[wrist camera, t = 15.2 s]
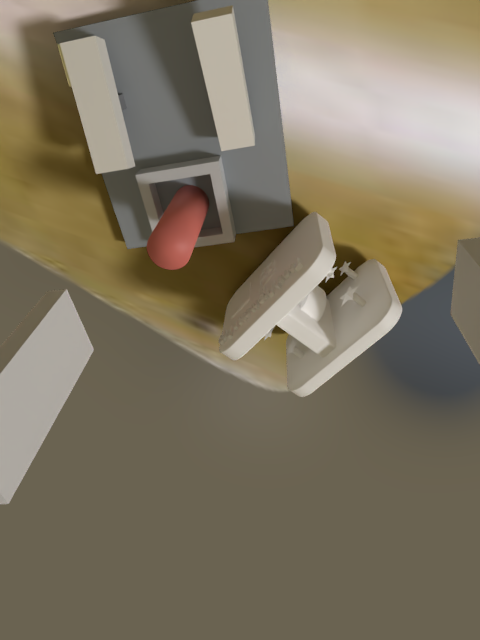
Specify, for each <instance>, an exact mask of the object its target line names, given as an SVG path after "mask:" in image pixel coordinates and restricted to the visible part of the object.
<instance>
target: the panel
mask: <svg viewBox="0 0 480 640" xmlns="http://www.w3.org/2000/svg"><path fill="white" fill-rule="evenodd" d="M231 5H233V9H234V15H235V21H236V27H237V33H238V39H239V45H240V50H241V56H242V62H243V68H244V74H245V80H246V86H247V91H248V97H249V103H250V109H251V115H252V121H253V127H254V133H255V146H250V147H244V148H238V149H232V150H226V151H221V148H220V143H219V139H218V135H217V131H216V126H215V122H214V118H213V114H212V109H211V105H210V101H209V97H208V92H207V88H206V84H205V80H204V75H203V71H202V67H201V63H200V58H199V54H198V50H197V46H196V41H195V37H194V33H193V29H192V24H191V21H192V17H193V14H195V13H200V12H204V11H209V10H213V9H218V8H222V7H227V6H231ZM53 34H54V37H55V40H56V43H57V45H58V44H60V43H64V42H68V41H73V40H77V39H82V38H86V37H91V36H97V37H100V38H102V39H104V40H105V43H106V48H107V52H108V56H109V60H110V64H111V68H112V72H113V76H114V80H115V85H116V89H117V93H118V97H119V101H120V105H121V109H122V113H123V117H124V121H125V126H126V130H127V134H128V138H129V142H130V146H131V150H132V154H133V158H134V163H135V167H132V168H129V169H124V170H118V171H112V172H106V173H102V176H103V179H104V182H105V185H106V188H107V191H108V194H109V196H110V199H111V202H112V205H113V208H114V211H115V214H116V217H117V220H118V223H119V226H120V228H121V231H122V234H123V237H124V240H125V243H126V246H127V249H131V248H138V247H146V246H147V242H148V239H149V237H150V235H151V234H152V232H153V230H154V229H155V227H156V225H157V224H158V222H159V220H160V219H161V217H162V215H163V214H164V212H165V210H166V209H167V207H168V205H169V204H170V202H171V200H172V199H173V197H174V195H175V194H176V192H177V191H178V190H179V189H180V188H181V187H183V186H186V185H194V186H197V187H199V188H201V189H202V190H203V191H204V192H205V193H206V195H207V197H208V199H209V209H208V212H207V214H206V217H205V220H204V222H203V225H202V228H201V230H200V233H199V236H198V238H197V241H196V244H195V246H194V247H201V246H209V245H216V244H223V243H231V242H235V237H236V234H240V233H247V232H254V231H261V230H268V229H276V228H283V227H290V226H294V223H293V213H292V205H291V196H290V188H289V179H288V170H287V162H286V153H285V145H284V136H283V127H282V119H281V110H280V102H279V93H278V84H277V76H276V67H275V59H274V50H273V41H272V33H271V24H270V16H269V7H268V0H197V1H192V2H188V3H183V4H179V5H174V6H170V7H166V8H161V9H157V10H152V11H148V12H143V13H139V14H135V15H130V16H126V17H121V18H117V19H112V20H108V21H104V22H99V23H95V24H90V25H86V26H81V27H77V28H72V29H68V30H64V31H59V32H55V33H53Z"/></svg>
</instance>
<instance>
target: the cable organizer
mask: <svg viewBox="0 0 480 640" xmlns="http://www.w3.org/2000/svg"><path fill="white" fill-rule="evenodd" d="M335 260H336V253H335V249H334V245H333V241H332V237H331V233H330V228H329V224H328V222H327V221H326V220H325V219H324V218H323V217H321V216H320V215H319V214H318V213H317V212H313V213H311V214H309V215H308V216H306V217H305V218H304V219H303V220H302V221H301V222H300V223H299V224H298V225H297V226H296V227H295V228H294V229H293V230H292V231H291V232H290V233H289V235H288V236H287V237H286V238H285V239H284V240H283V241H282V242H281V243H280V244H279V245H278V246H277V248H276V249H275V250H274V251H273V252H272V253H271V254H270V255H269V256H268V257H267V258H266V259H265V260H264V262H263V263H262V264H261V265H260V266H259V267H258V268H257V269H256V270H255V271H254V272H253V273H252V275H251V276H250V277H249V278H248V279H247V280H246V281H245V282H244V283H243V284H242V285H241V286H240V288H239V289H238V290H237V291H236V292H235V293H234V295H233V296H232V298H231V299H230V301H229V303H228V305H227V308H226V314H225V319H224V325H223V330H222V335H221V336H220V338H219V343H220V347H219V351H220V352H221V353H222V354H224V355H225V356H227V357H229V358H230V359H232V360H237V359H239V358H241V357H242V356H244V355H245V354H246V353H247V352H248V351H249V350H250V349H251V348H252V347H253V346H254V345H255V344H256V343H257V342H258V341H259V340H261V339H262V338H263V337H264V336H265V335H266V337H265V339H266V338H267V337H268V336H269V337H271V332H272V330H273V328H274V327H275V325H277V326H278V327H280V328H281V329H283V330H284V331H285V332H287V333H288V334H289V335H288V337H287V341H286V354H287V387H288V389H289V390H290V391H292V392H293V393H295V394H296V395H298V396H300V397H304V396H307V395H309V394H311V393H312V392H313V391H314V390H316V389H317V388H318V387H320V386H321V385H322V384H323V383H325V382H326V381H327V380H328V379H330V378H331V377H332V376H333V375H335V374H336V373H337V372H338V371H340V370H341V369H342V368H343V367H345V366H346V365H347V364H348V363H350V362H351V361H352V360H353V359H354V358H356V357H357V356H359V355H360V354H361V353H362V352H364V351H365V350H366V349H367V348H369V347H370V346H371V345H372V344H374V343H375V342H376V341H377V340H379V339H380V338H381V337H383V336H384V335H385V334H386V333H387V332H389V331H390V330H391V329H392V328H393V327H394V325H395V324H396V323H397V321H398V320H399V318H400V316H401V313H402V306H401V304H400V301H399V299H398V297H397V294H396V292H395V290H394V287H393V285H392V283H391V280H390V278H389V276H388V273H387V271H386V269H385V267H384V266H383V265H382V264H380V263H379V262H378V261H377V260H375V259H371V260H368V261H366V262H364V263H363V264H362V265H360V266H359V267H358V268H357V269H356V270H355V271H353V270H352V269H350V268H349V267H348V266H349V264H350V263H351V262H349V263H346V261H345V262H344V264H343V266H342V267H341V268H340V269H339V270H341V275H342V274H343V273H344V272H345V273H346V274H347V275H348V277H347V278H346V279H345V280H344V281H343V282H342V283H340V284H339V285H338V286H337V287H336V288H335V289H334V290H333V291H332V292H331V293H330V294H329V295H327V296H326V294H325V291H324V290H323V289H321V288H320V287H319V286H318V284H319V283H320V282H321V281H322V280H323V279H324V278H325V277H327V278H326V282H327V280H328V279H329V278H334V271H335V270H336V268H337V267H338V266H337V267H335V268H332V267H333V265H334V263H335ZM341 275H340V276H341ZM326 282H325V283H326Z"/></svg>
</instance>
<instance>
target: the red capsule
mask: <svg viewBox="0 0 480 640" xmlns="http://www.w3.org/2000/svg"><path fill="white" fill-rule="evenodd" d="M208 209H209V199H208V197H207V195H206V193H205V192H204V191H203V190H202V189H201V188H199V187H197V186H194V185H186V186H183V187H181V188H180V189H179V190H178V191H177V192H176V194H175V195H174V197H173V199H172V200H171V202H170V204H169V205H168V207H167V209H166V210H165V212H164V214H163V215H162V217H161V219H160V220H159V222H158V224H157V225H156V227H155V229H154V230H153V232H152V234H151V235H150V237H149V239H148V242H147V252H148V255H149V257H150V258H151V260H152V261H153V262H154V263H155V264H156V265H158V266H159V267H161V268H164V269H168V270H175V269H179V268H181V267H183V266H185V265H186V264H187V263H188V261H189V259H190V257H191V254H192V252H193V249H194V246H195V244H196V241H197V238H198V236H199V233H200V230H201V228H202V225H203V222H204V220H205V217H206V214H207V212H208Z"/></svg>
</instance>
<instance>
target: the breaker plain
mask: <svg viewBox="0 0 480 640" xmlns="http://www.w3.org/2000/svg"><path fill="white" fill-rule="evenodd" d="M191 24H192V29H193V33H194V37H195V41H196V46H197V50H198V54H199V58H200V63H201V67H202V71H203V75H204V80H205V84H206V88H207V92H208V97H209V101H210V105H211V109H212V114H213V118H214V122H215V126H216V131H217V135H218V139H219V143H220V148H221V151H226V150H232V149H238V148H244V147H250V146H255V133H254V127H253V121H252V115H251V109H250V103H249V97H248V91H247V86H246V80H245V74H244V68H243V62H242V56H241V50H240V45H239V39H238V33H237V27H236V21H235V15H234V9H233V5H231V6H227V7H222V8H218V9H213V10H209V11H204V12H200V13H195V14H193V17H192V21H191Z"/></svg>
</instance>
